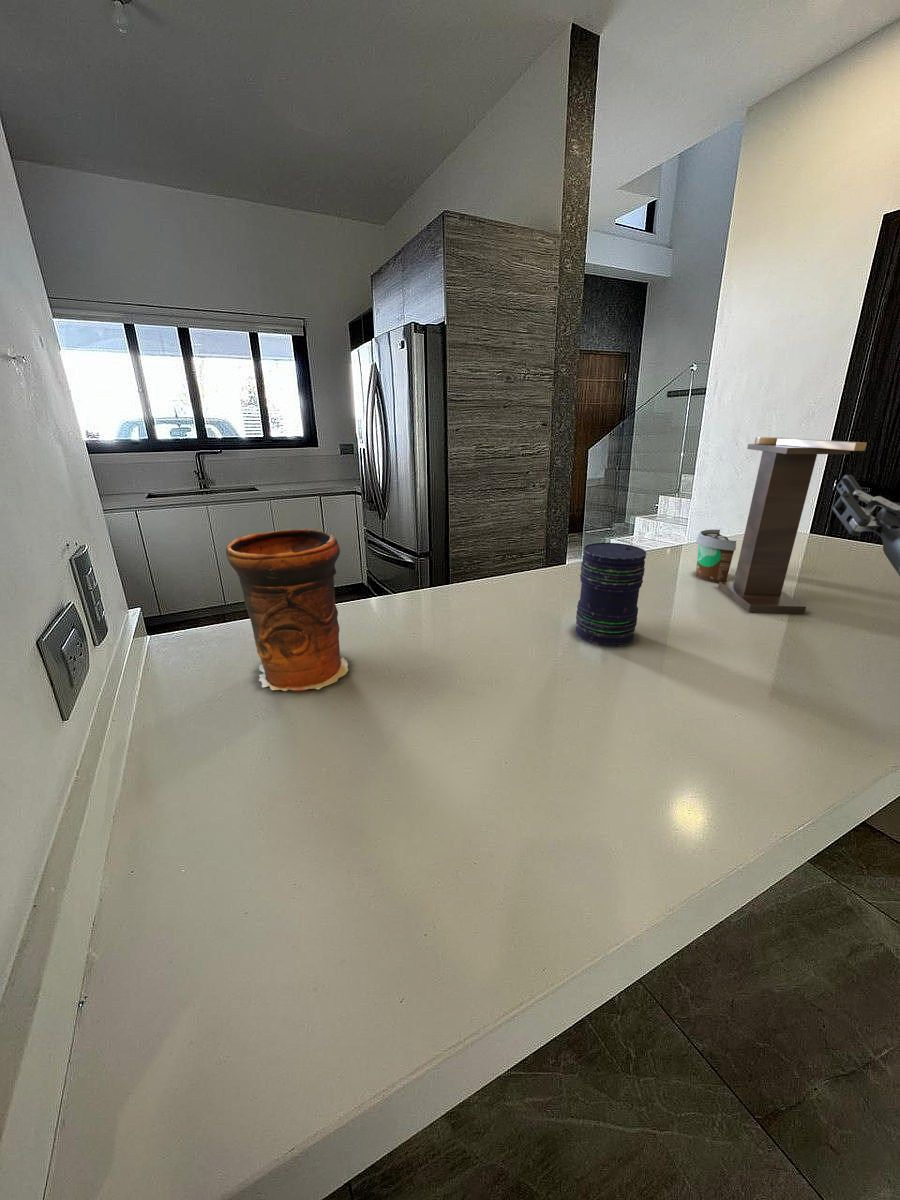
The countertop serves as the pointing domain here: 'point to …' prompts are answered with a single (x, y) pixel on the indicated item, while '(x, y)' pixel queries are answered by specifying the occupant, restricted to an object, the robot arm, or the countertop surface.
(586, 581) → the storage jar
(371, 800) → the countertop surface
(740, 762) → the countertop surface
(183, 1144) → the countertop surface
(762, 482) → the brown pedestal stand
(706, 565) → the food container
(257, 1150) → the countertop surface
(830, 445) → the wooden spoon
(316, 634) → the vessel
